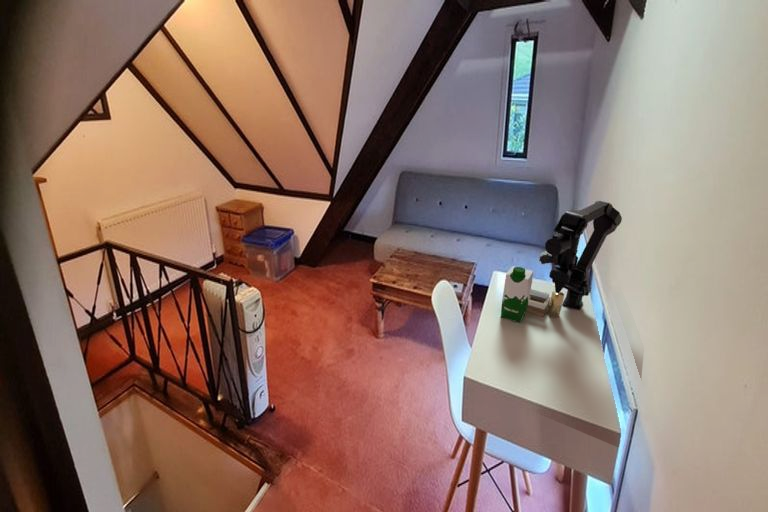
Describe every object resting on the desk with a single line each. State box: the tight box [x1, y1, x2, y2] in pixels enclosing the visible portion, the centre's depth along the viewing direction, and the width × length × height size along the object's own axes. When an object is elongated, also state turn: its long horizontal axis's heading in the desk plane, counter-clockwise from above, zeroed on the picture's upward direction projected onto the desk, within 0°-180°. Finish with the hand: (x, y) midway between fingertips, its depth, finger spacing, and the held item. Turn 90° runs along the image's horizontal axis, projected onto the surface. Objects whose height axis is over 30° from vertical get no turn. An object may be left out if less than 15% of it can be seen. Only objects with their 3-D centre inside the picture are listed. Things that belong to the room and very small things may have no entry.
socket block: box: [525, 288, 551, 317], centre depth 150 cm, size 10×8×8 cm
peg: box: [547, 290, 565, 318], centre depth 145 cm, size 4×4×9 cm
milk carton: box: [500, 265, 534, 323], centre depth 142 cm, size 9×9×20 cm
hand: (559, 287), depth 142 cm, fingers open, 9 cm apart
